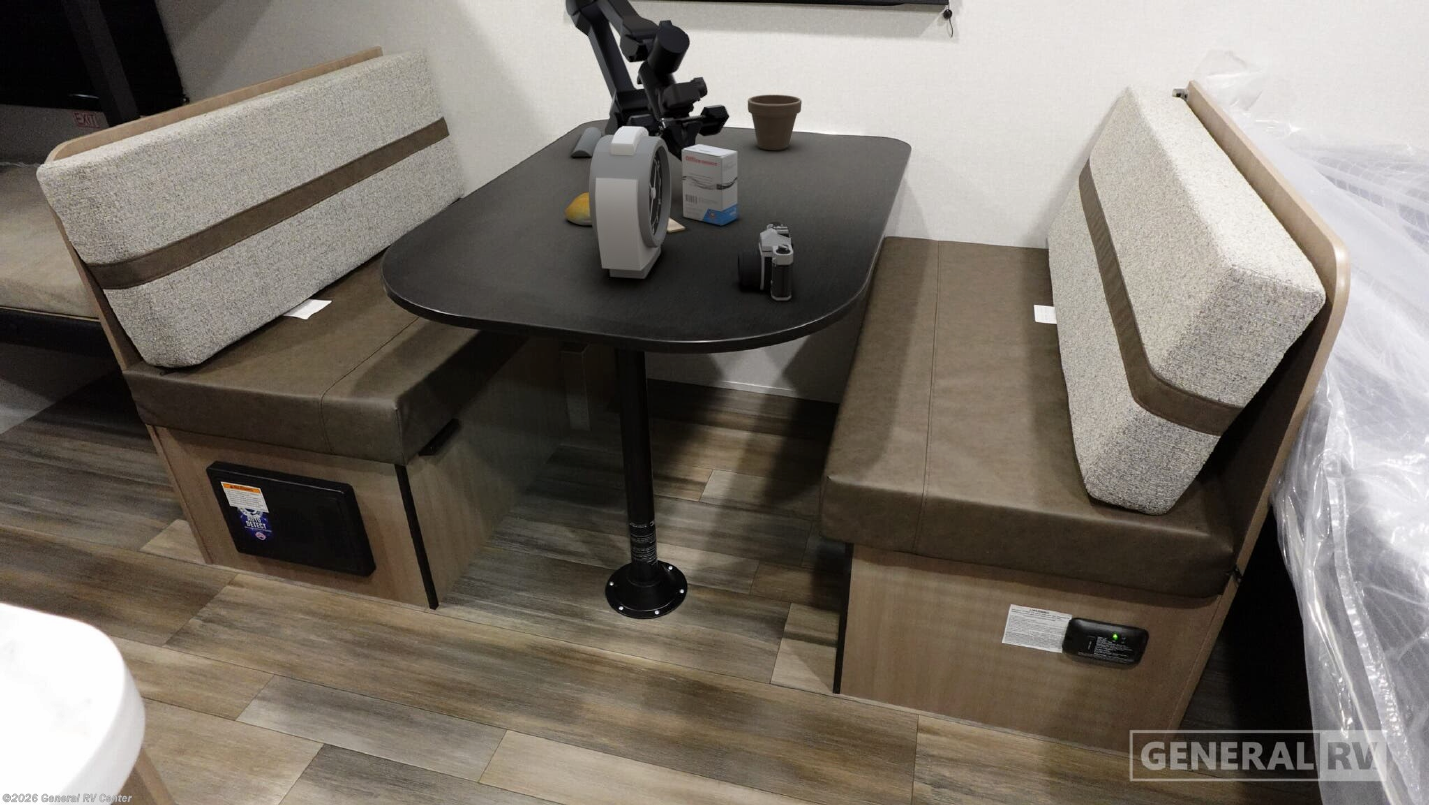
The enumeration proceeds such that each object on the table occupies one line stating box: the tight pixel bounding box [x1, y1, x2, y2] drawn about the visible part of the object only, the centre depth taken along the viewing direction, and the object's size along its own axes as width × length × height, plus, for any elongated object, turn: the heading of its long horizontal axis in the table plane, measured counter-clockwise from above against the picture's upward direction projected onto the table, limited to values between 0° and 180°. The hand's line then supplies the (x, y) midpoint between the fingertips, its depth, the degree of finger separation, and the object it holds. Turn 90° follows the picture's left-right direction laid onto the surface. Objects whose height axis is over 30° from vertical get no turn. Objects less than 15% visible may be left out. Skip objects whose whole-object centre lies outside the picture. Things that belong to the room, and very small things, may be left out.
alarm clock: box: [588, 126, 673, 280], centre depth 129 cm, size 18×8×20 cm, turn 170°
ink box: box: [681, 143, 739, 227], centre depth 149 cm, size 8×5×12 cm, turn 53°
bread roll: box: [565, 191, 592, 226], centre depth 151 cm, size 8×9×4 cm
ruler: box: [666, 217, 686, 234], centre depth 152 cm, size 16×3×1 cm, turn 29°
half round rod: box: [571, 126, 602, 158], centre depth 192 cm, size 4×20×2 cm, turn 179°
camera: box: [737, 221, 795, 301], centre depth 125 cm, size 13×8×9 cm, turn 5°
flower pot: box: [747, 94, 803, 151], centre depth 189 cm, size 12×11×10 cm
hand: (693, 167), depth 153 cm, fingers closed
